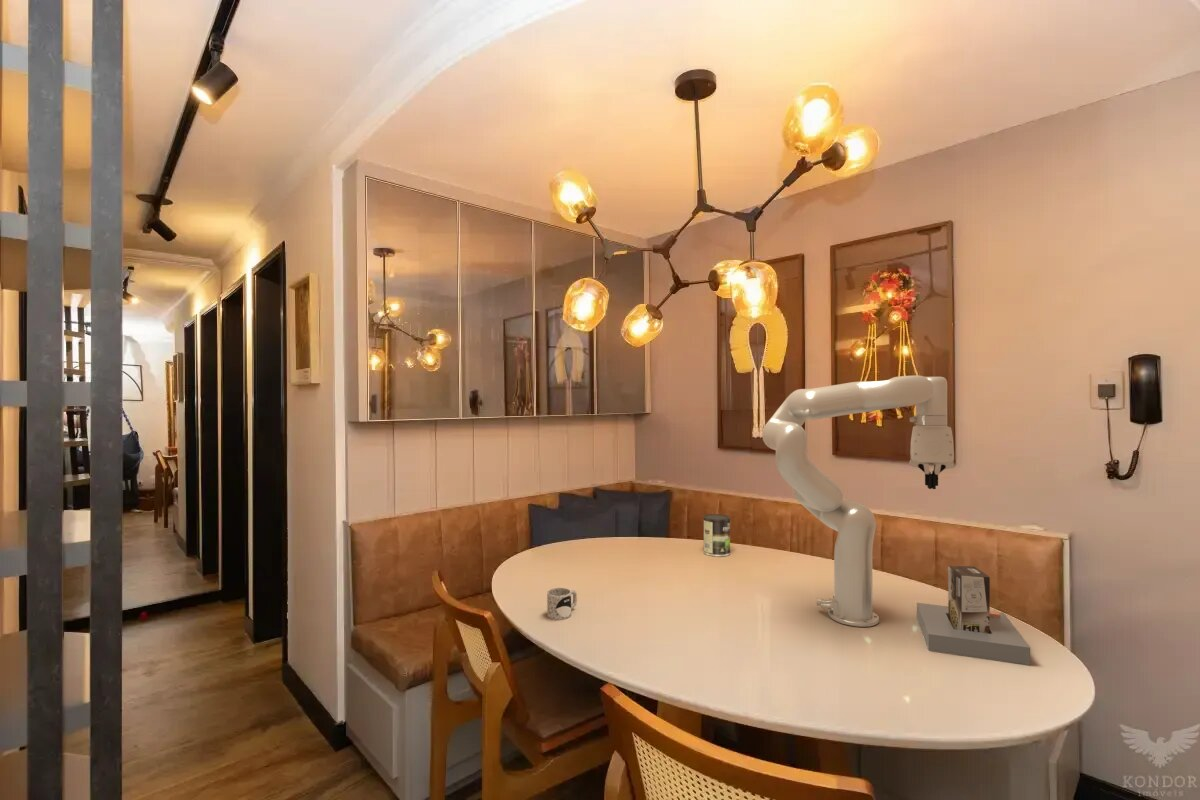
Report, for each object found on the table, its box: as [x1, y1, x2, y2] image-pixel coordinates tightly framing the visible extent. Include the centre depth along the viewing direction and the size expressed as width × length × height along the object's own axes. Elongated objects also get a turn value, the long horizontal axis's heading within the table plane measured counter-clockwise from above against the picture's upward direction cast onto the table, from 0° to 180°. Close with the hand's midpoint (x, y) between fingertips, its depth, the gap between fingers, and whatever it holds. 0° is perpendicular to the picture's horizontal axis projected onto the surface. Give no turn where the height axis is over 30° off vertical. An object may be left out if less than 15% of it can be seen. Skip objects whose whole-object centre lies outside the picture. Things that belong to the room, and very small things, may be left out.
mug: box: [546, 587, 578, 621], centre depth 161 cm, size 10×7×7 cm, turn 137°
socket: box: [916, 602, 1031, 666], centre depth 142 cm, size 20×22×5 cm
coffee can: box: [702, 513, 731, 558], centre depth 221 cm, size 10×10×14 cm
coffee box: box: [947, 565, 991, 634], centre depth 142 cm, size 9×6×16 cm
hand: (931, 488), depth 157 cm, fingers closed
